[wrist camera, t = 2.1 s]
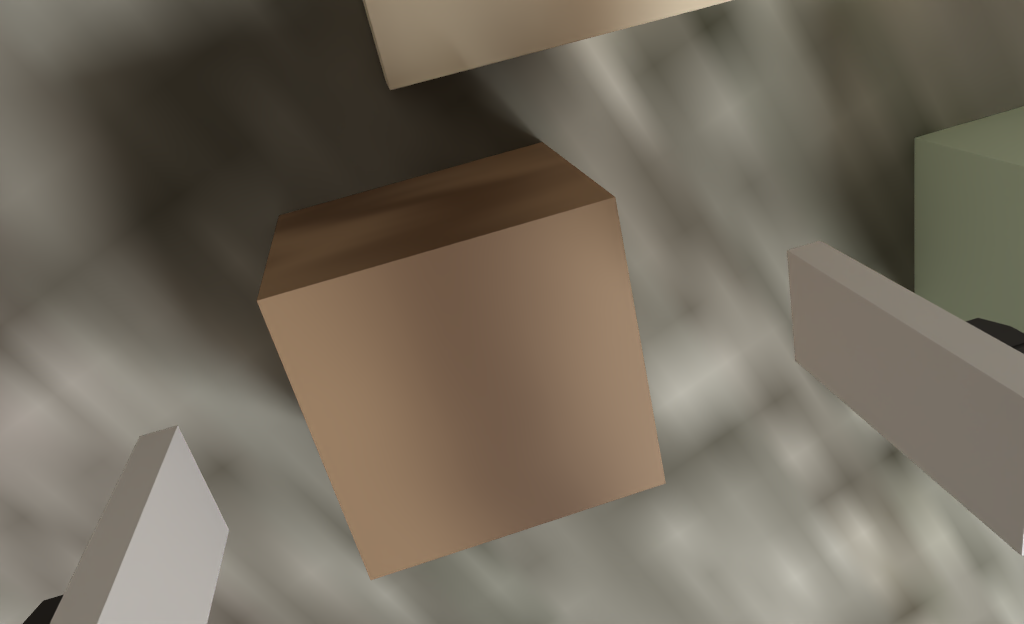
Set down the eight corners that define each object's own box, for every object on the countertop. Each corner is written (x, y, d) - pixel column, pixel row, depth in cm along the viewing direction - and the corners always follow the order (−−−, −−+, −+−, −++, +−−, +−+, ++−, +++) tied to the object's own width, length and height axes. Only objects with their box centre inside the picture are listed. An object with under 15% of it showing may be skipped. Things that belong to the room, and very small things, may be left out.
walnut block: (363, 437, 22) (370, 580, 17) (279, 213, 20) (256, 300, 14) (589, 367, 23) (665, 483, 18) (540, 141, 20) (615, 197, 15)
